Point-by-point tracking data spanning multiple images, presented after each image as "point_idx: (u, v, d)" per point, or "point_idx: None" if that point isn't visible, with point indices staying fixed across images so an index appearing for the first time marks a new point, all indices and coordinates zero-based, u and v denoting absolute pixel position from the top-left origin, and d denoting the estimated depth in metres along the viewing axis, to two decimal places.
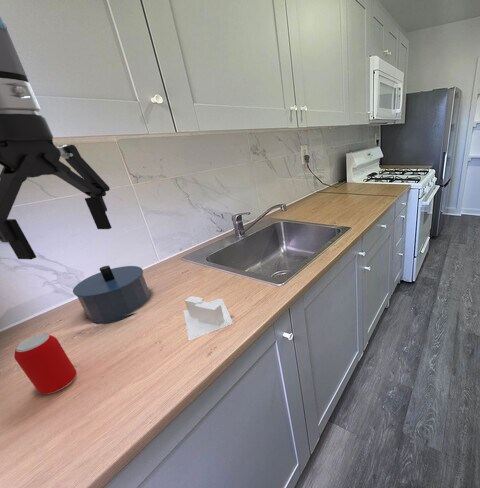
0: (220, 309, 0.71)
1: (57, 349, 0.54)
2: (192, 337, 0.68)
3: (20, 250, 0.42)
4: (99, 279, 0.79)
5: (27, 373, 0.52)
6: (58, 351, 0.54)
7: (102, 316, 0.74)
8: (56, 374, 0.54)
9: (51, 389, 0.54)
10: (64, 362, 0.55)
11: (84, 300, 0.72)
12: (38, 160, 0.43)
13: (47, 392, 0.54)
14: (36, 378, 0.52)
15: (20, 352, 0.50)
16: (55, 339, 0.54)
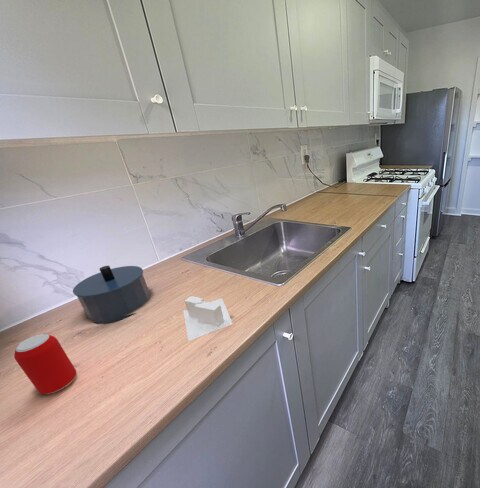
0: (220, 309, 0.71)
1: (57, 349, 0.54)
2: (192, 337, 0.68)
3: None
4: (99, 279, 0.79)
5: (27, 373, 0.52)
6: (58, 351, 0.54)
7: (102, 316, 0.74)
8: (56, 374, 0.54)
9: (51, 389, 0.54)
10: (64, 362, 0.55)
11: (84, 300, 0.72)
12: None
13: (47, 392, 0.54)
14: (36, 378, 0.52)
15: (20, 352, 0.50)
16: (55, 339, 0.54)
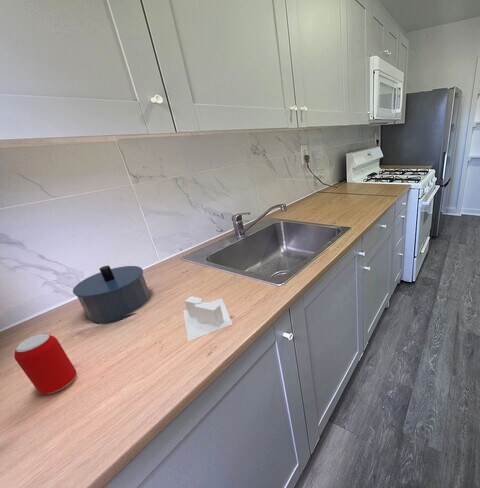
0: (219, 309, 0.71)
1: (57, 349, 0.54)
2: (191, 337, 0.68)
3: None
4: (99, 279, 0.79)
5: (27, 373, 0.52)
6: (58, 351, 0.54)
7: (102, 316, 0.74)
8: (56, 374, 0.54)
9: (51, 389, 0.54)
10: (64, 362, 0.55)
11: (84, 300, 0.72)
12: None
13: (47, 392, 0.54)
14: (36, 378, 0.52)
15: (20, 352, 0.50)
16: (55, 339, 0.54)
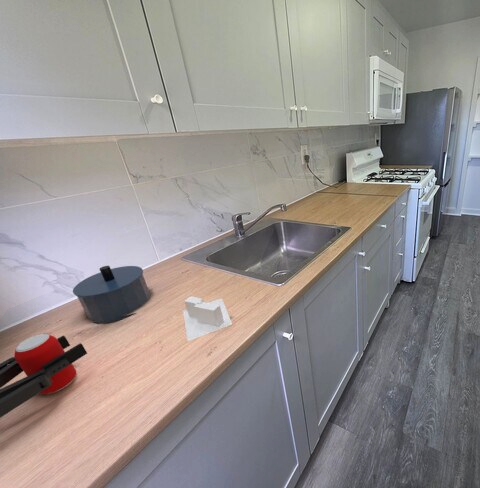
0: (219, 310, 0.71)
1: (57, 349, 0.54)
2: (191, 338, 0.68)
3: None
4: (99, 279, 0.79)
5: (27, 373, 0.52)
6: (58, 351, 0.54)
7: (102, 316, 0.74)
8: (56, 374, 0.54)
9: (51, 389, 0.54)
10: None
11: (84, 300, 0.72)
12: None
13: (47, 392, 0.54)
14: None
15: (20, 352, 0.50)
16: (55, 339, 0.54)
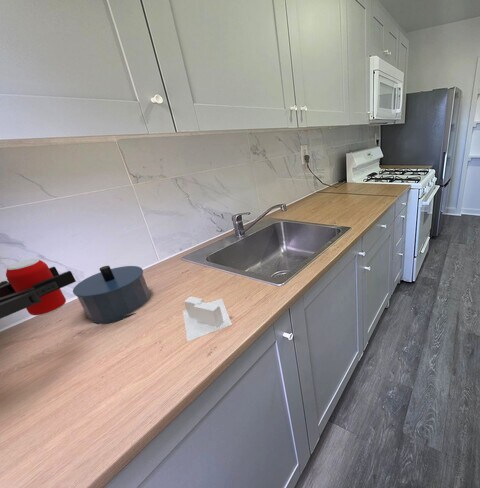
0: (219, 310, 0.71)
1: (47, 273, 0.57)
2: (191, 338, 0.68)
3: None
4: (99, 279, 0.79)
5: None
6: (47, 275, 0.57)
7: (102, 316, 0.74)
8: (46, 296, 0.57)
9: (41, 310, 0.57)
10: None
11: (84, 300, 0.72)
12: None
13: (37, 313, 0.57)
14: None
15: (11, 270, 0.53)
16: (45, 264, 0.58)
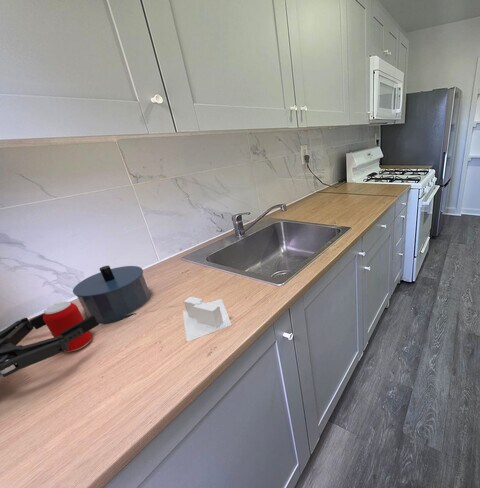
0: (219, 310, 0.71)
1: (77, 314, 0.65)
2: (190, 338, 0.68)
3: None
4: (99, 279, 0.79)
5: (53, 332, 0.62)
6: (78, 316, 0.65)
7: (102, 316, 0.74)
8: None
9: (72, 347, 0.65)
10: None
11: (84, 300, 0.72)
12: None
13: (69, 350, 0.65)
14: None
15: (48, 314, 0.61)
16: (75, 306, 0.65)
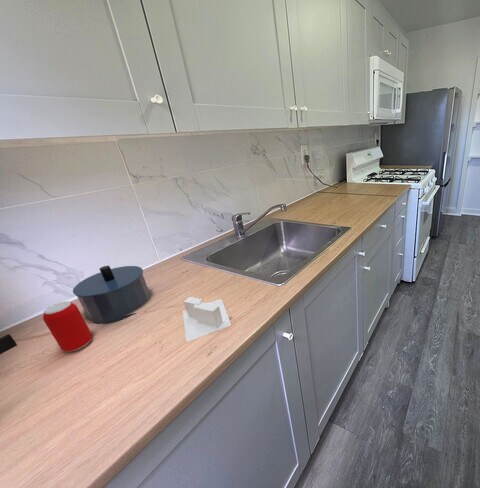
0: (218, 310, 0.71)
1: (77, 314, 0.65)
2: (190, 338, 0.68)
3: None
4: (99, 279, 0.79)
5: (53, 332, 0.62)
6: (78, 316, 0.65)
7: (102, 316, 0.74)
8: (76, 335, 0.65)
9: (72, 347, 0.65)
10: (83, 325, 0.66)
11: (84, 300, 0.72)
12: None
13: (69, 350, 0.65)
14: (60, 337, 0.63)
15: (48, 314, 0.61)
16: (75, 306, 0.65)
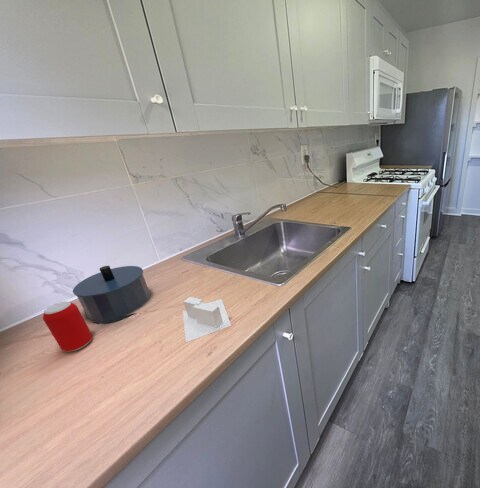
0: (218, 311, 0.71)
1: (77, 314, 0.65)
2: (189, 339, 0.68)
3: None
4: (99, 279, 0.79)
5: (53, 332, 0.62)
6: (78, 316, 0.65)
7: (102, 316, 0.74)
8: (76, 335, 0.65)
9: (72, 347, 0.65)
10: (83, 325, 0.66)
11: (84, 300, 0.72)
12: None
13: (69, 350, 0.65)
14: (60, 337, 0.63)
15: (48, 314, 0.61)
16: (75, 306, 0.65)
